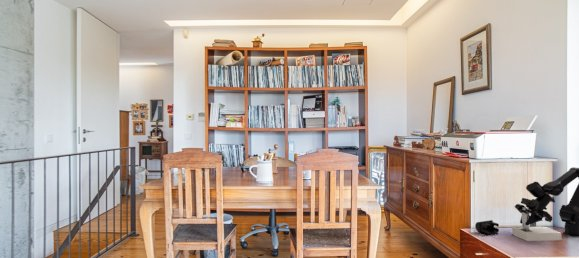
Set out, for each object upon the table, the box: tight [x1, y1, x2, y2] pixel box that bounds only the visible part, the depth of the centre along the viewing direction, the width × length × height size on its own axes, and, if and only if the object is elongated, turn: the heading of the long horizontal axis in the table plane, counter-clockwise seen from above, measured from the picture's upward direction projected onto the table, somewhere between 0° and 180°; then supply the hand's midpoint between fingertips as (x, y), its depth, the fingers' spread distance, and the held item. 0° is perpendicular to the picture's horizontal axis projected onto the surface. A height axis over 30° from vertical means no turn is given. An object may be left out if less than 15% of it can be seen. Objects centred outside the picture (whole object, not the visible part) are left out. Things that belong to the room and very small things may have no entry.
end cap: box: [474, 219, 500, 237], centre depth 177 cm, size 10×7×7 cm
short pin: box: [529, 222, 537, 227], centre depth 177 cm, size 3×3×7 cm
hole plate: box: [511, 226, 563, 242], centre depth 168 cm, size 18×11×4 cm, turn 89°
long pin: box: [521, 212, 530, 232], centre depth 168 cm, size 3×3×12 cm
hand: (523, 224), depth 168 cm, fingers closed on long pin, 3 cm apart
